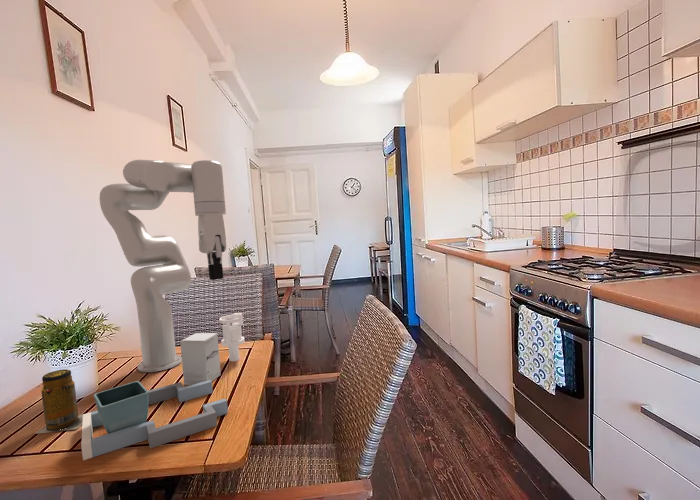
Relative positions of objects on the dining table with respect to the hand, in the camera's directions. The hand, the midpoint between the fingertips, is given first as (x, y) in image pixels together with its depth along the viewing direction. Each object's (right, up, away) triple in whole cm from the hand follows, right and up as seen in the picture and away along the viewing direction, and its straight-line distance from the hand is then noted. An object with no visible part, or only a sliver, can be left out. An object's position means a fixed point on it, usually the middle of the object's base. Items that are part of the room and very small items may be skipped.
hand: (216, 278), depth 101 cm
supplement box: (-6, -29, +7) cm, 31 cm away
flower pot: (-13, -32, -19) cm, 39 cm away
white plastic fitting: (-2, -28, +22) cm, 35 cm away
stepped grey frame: (-9, -31, -15) cm, 35 cm away
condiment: (-30, -32, -14) cm, 46 cm away
